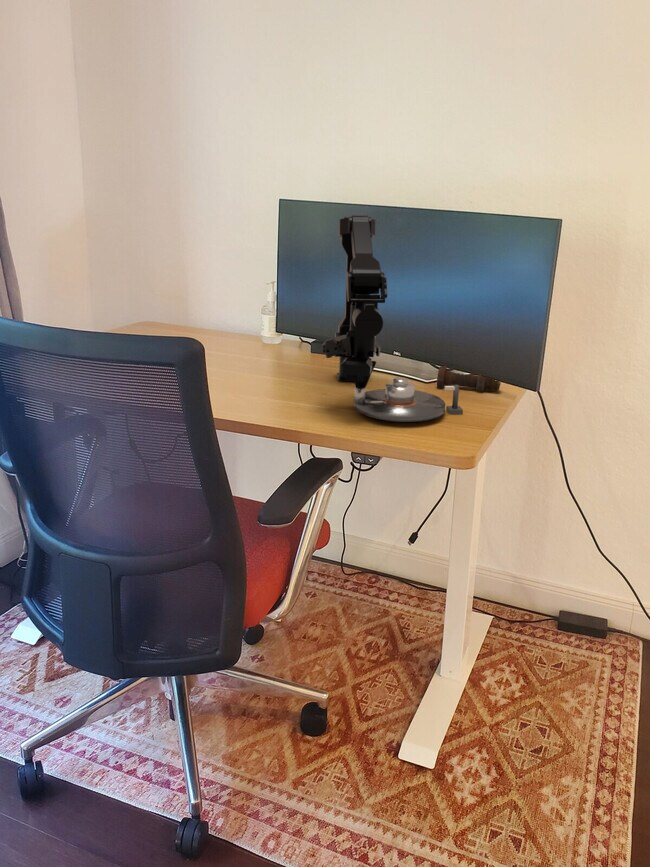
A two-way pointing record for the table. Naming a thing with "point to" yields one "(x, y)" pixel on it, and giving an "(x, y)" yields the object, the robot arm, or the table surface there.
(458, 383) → the bolt
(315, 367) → the table surface
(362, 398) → the turntable
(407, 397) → the cap
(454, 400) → the dial pointer
